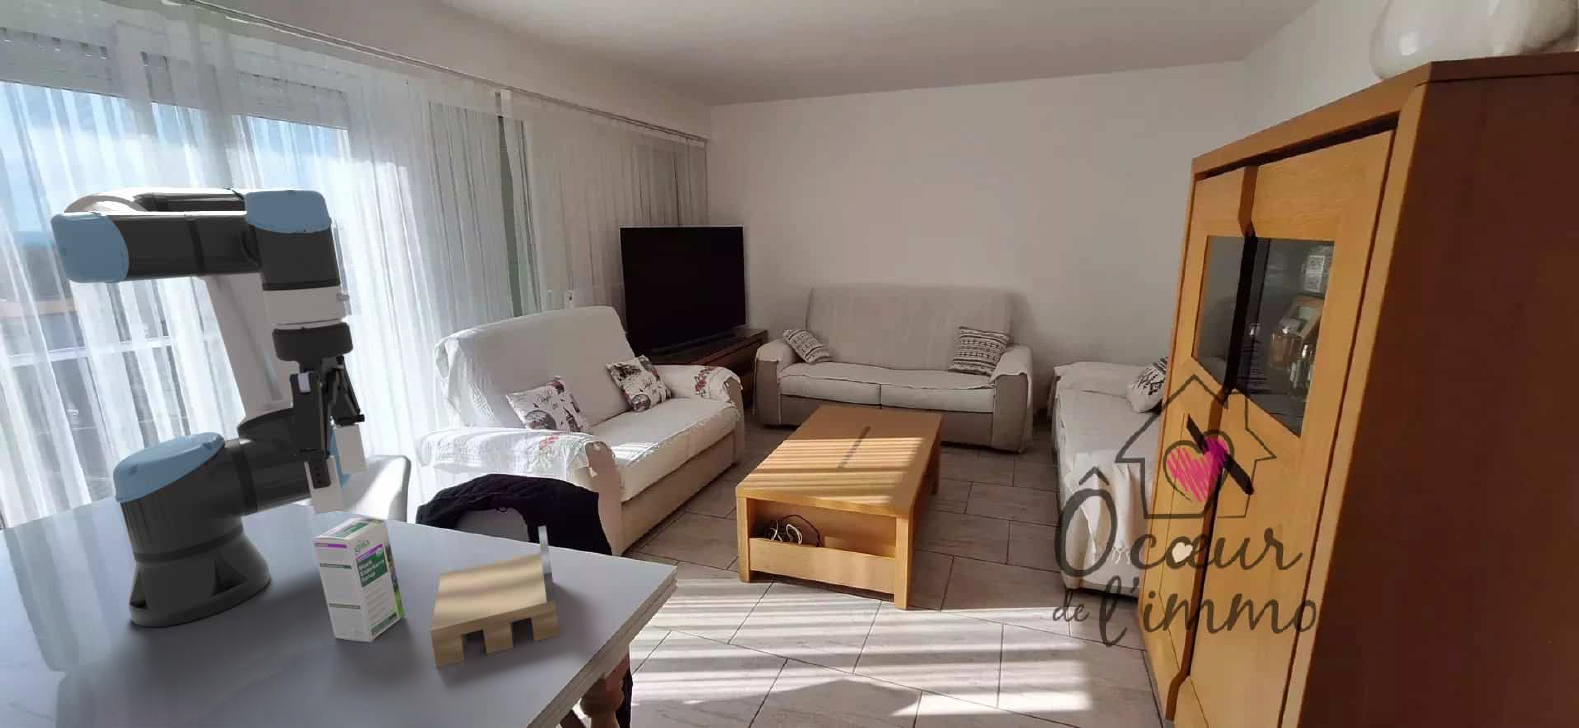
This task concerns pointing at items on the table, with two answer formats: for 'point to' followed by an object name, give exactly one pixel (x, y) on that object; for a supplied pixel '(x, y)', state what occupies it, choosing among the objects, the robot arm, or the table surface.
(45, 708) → the table surface
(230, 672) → the table surface
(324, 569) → the syrup box
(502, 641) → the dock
